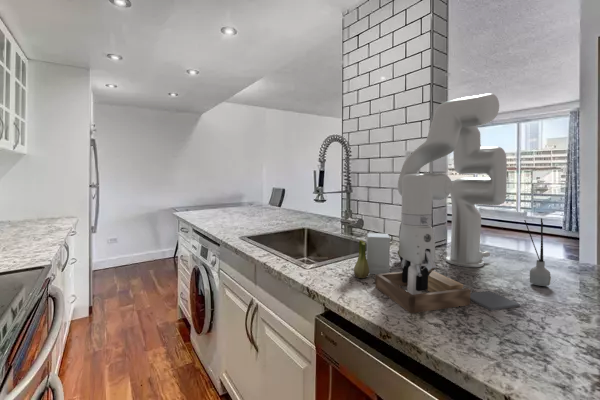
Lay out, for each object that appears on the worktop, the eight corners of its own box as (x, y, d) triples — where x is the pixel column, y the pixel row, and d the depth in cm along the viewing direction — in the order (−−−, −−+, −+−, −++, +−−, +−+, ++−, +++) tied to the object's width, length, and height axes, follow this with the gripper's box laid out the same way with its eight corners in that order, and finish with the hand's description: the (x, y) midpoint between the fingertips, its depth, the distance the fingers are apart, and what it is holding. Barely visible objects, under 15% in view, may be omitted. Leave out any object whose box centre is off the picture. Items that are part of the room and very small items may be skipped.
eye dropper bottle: (403, 297, 81) (404, 254, 80) (409, 291, 85) (410, 249, 84) (420, 301, 78) (421, 256, 77) (425, 294, 83) (426, 252, 82)
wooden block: (430, 284, 91) (430, 269, 90) (463, 301, 78) (464, 284, 78) (417, 285, 90) (417, 270, 89) (449, 303, 77) (449, 286, 77)
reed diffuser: (550, 292, 84) (555, 221, 82) (520, 287, 88) (524, 219, 86) (549, 282, 92) (553, 217, 90) (521, 277, 96) (524, 215, 94)
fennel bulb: (366, 281, 94) (366, 243, 93) (351, 278, 96) (351, 241, 95) (371, 275, 99) (371, 239, 98) (356, 273, 101) (357, 238, 100)
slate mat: (489, 292, 84) (489, 290, 84) (520, 306, 75) (520, 304, 75) (462, 296, 82) (462, 294, 82) (490, 310, 73) (491, 308, 73)
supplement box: (389, 275, 99) (390, 237, 98) (366, 274, 101) (367, 236, 99) (387, 268, 106) (388, 233, 105) (366, 267, 108) (366, 232, 107)
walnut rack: (425, 281, 93) (426, 269, 92) (470, 305, 76) (470, 289, 76) (375, 287, 88) (375, 274, 88) (410, 313, 72) (410, 297, 72)
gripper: (451, 224, 73) (449, 296, 74) (409, 215, 89) (407, 274, 91) (424, 226, 71) (422, 300, 73) (386, 216, 88) (385, 277, 89)
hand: (414, 285), depth 82 cm, fingers closed on eye dropper bottle, 5 cm apart
